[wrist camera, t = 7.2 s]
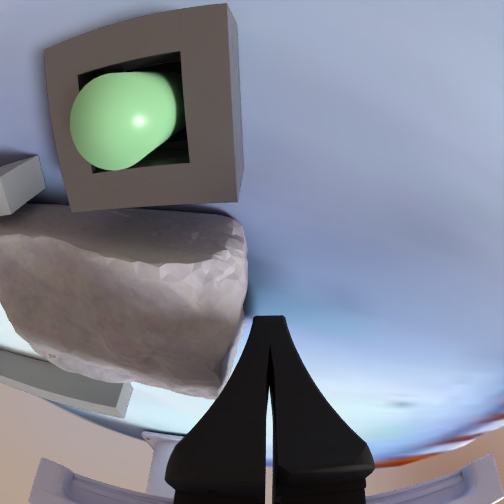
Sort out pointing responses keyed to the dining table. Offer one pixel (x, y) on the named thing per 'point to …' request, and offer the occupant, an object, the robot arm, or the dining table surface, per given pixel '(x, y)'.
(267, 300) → the dining table surface
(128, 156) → the button
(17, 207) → the corral
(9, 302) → the stone block
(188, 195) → the button box
